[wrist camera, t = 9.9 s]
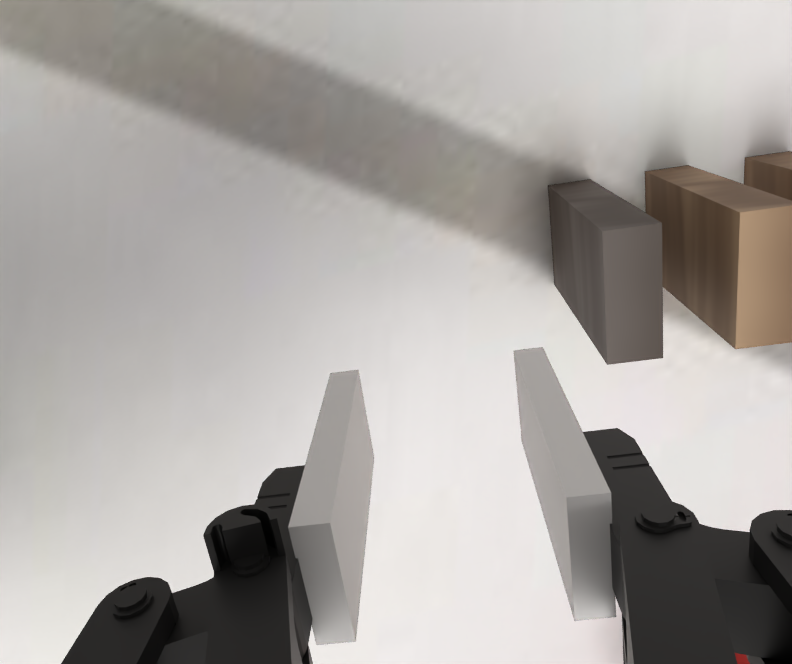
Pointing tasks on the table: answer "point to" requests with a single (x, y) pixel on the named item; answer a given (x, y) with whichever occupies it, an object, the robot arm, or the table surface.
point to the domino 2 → (770, 173)
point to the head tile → (609, 269)
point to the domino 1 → (725, 253)
